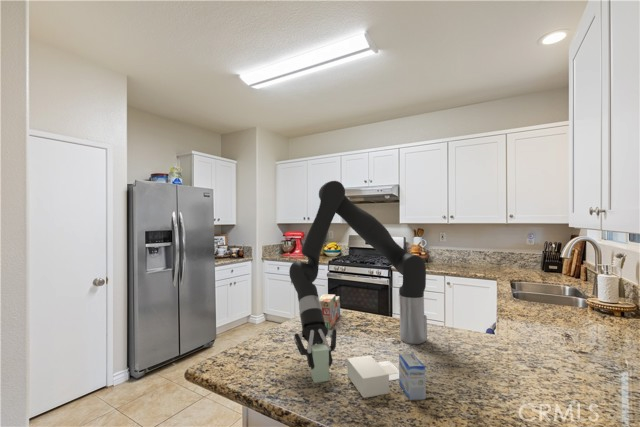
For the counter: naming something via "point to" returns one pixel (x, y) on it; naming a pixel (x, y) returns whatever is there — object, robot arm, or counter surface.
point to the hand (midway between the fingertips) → (321, 366)
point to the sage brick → (320, 363)
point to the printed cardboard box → (330, 308)
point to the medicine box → (412, 376)
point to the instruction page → (390, 370)
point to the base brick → (368, 376)
